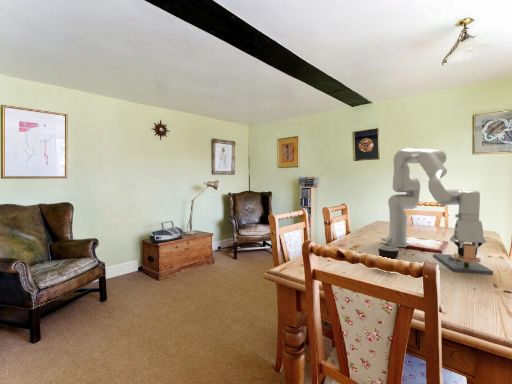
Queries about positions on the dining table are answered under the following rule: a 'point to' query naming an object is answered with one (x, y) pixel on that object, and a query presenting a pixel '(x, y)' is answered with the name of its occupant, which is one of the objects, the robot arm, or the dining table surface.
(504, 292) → the dining table surface
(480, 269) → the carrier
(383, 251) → the coffee mug
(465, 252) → the hollow square star tube
